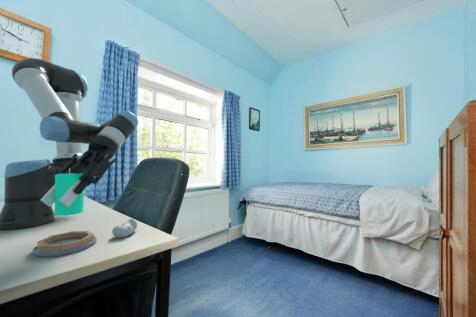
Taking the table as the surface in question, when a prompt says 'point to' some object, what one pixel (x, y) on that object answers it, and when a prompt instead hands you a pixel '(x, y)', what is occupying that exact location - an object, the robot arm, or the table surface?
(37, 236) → the table surface
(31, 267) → the table surface
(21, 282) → the table surface
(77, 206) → the candle
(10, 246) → the table surface
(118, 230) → the grey curved figurine
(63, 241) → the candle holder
